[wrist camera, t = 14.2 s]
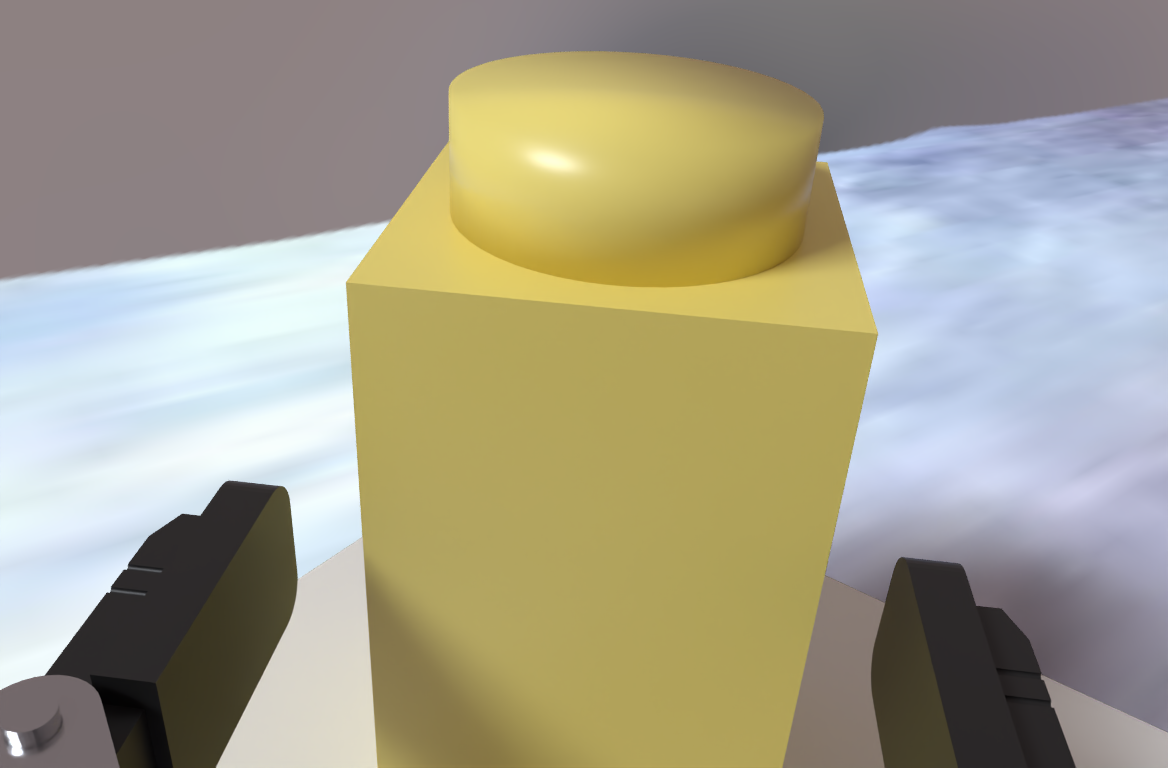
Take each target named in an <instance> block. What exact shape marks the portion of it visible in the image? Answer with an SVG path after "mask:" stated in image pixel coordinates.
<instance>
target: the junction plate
mask: <svg viewBox="0 0 1168 768" xmlns="http://www.w3.org/2000/svg"><path fill="white" fill-rule="evenodd" d="M884 605H885V603H884V602H882V601H880V600H878V599H876V598H873V597H871V596H869V595H867V594H865V593H862V592H860V591H858V590H856V589H854V588H852V587H849V586H847V585H845V584H843V583H841V582H839V581H836V580H834V579H832V578H830V577H828V576H824V581H823V585H822V590H821V595H820V599H819V604H818V608H817V613H816V617H815V622H814V626H813V631H812V635H811V640H810V644H809V649H808V653H807V658H806V662H805V667H804V672H803V676H802V681H801V685H800V690H799V694H798V699H797V703H796V708H795V712H794V717H793V721H792V726H791V730H790V735H789V740H788V744H787V749H786V753H785V758H784V762H783V767H782V768H885V767H884V761H883V755H882V750H881V744H880V738H879V732H878V727H877V721H876V715H875V709H874V704H873V698H872V690H871V663H872V654H873V648H874V643H875V639H876V636H877V632H878V628H879V624H880V620H881V617H882V613H883V609H884ZM1041 680H1044V682H1045V684H1046V687H1047V690H1048V693H1049V695H1050V698H1051V707H1052V708H1054V709H1055V712H1056V714H1057V717H1058V720H1059V722H1060V725H1061V728H1062V731H1063V733H1064V736H1065V739H1066V741H1067V744H1068V747H1069V750H1070V752H1071V755H1072V758H1073V761H1074V763H1075V766H1076V768H1168V732H1165V731H1163V730H1161V729H1159V728H1157V727H1155V726H1152V725H1150V724H1148V723H1146V722H1144V721H1141V720H1139V719H1137V718H1135V717H1133V716H1131V715H1128V714H1126V713H1124V712H1122V711H1120V710H1118V709H1115V708H1113V707H1111V706H1109V705H1107V704H1104V703H1102V702H1100V701H1098V700H1096V699H1094V698H1091V697H1089V696H1087V695H1085V694H1083V693H1080V692H1078V691H1076V690H1074V689H1072V688H1070V687H1067V686H1065V685H1063V684H1061V683H1059V682H1056V681H1054V680H1052V679H1050V678H1048V677H1046V676H1043V675H1041ZM216 768H377V753H376V737H375V722H374V706H373V691H372V676H371V660H370V645H369V629H368V614H367V598H366V583H365V568H364V552H363V537H362V538H360V539H358V540H357V541H355V542H354V543H352V544H351V545H349V546H348V547H346V548H345V549H343V550H342V551H340V552H339V553H337V554H336V555H334V556H333V557H331V558H330V559H328V560H327V561H325V562H324V563H322V564H320V565H319V566H317V567H316V568H314V569H313V570H311V571H310V572H308V573H307V574H305V575H304V576H302V577H301V578H299V579H298V581H297V594H296V600H295V605H294V609H293V612H292V616H291V618H290V621H289V623H288V625H287V627H286V629H285V631H284V633H283V635H282V637H281V639H280V641H279V643H278V645H277V647H276V649H275V651H274V653H273V655H272V657H271V659H270V661H269V663H268V665H267V667H266V669H265V671H264V673H263V675H262V677H261V679H260V681H259V683H258V685H257V687H256V689H255V691H254V693H253V695H252V697H251V699H250V701H249V703H248V705H247V707H246V709H245V711H244V713H243V715H242V717H241V719H240V721H239V723H238V725H237V727H236V729H235V731H234V732H233V734H232V736H231V738H230V740H229V742H228V744H227V746H226V748H225V750H224V752H223V754H222V756H221V758H220V760H219V762H218V764H217V766H216Z"/></svg>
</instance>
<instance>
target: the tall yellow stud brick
mask: <svg viewBox="0 0 1168 768" xmlns="http://www.w3.org/2000/svg"><path fill="white" fill-rule="evenodd" d="M823 114H824V113H823V110H822V108H821V106H820V104H819V103H818V102H817V101H816V100H815V99H813V98H812V97H811V96H809V95H808V94H807V93H805V92H804V91H802V90H800V89H798V88H796V87H794V86H792V85H790V84H787V83H785V82H782V81H780V80H778V79H775V78H772V77H769V76H766V75H763V74H760V73H756V72H753V71H749V70H746V69H741V68H737V67H732V66H728V65H724V64H718V63H714V62H708V61H702V60H696V59H690V58H682V57H674V56H667V55H656V54H646V53H630V52H606V51H578V52H554V53H542V54H532V55H524V56H517V57H511V58H506V59H501V60H496V61H492V62H488V63H485V64H481V65H479V66H476V67H474V68H471V69H468V70H467V71H465V72H463V73H461V74H460V75H458V76H457V77H456V78H455V79H454V80H453V81H452V83H451V84H450V86H449V142H448V143H447V145H446V146H445V147H444V149H443V150H442V151H441V153H440V154H439V156H438V157H437V158H436V160H435V161H434V162H433V164H432V165H431V166H430V168H429V169H428V171H427V172H426V173H425V175H424V176H423V178H422V179H421V180H420V182H419V183H418V184H417V186H416V187H415V188H414V190H413V191H412V193H411V194H410V195H409V197H408V198H407V199H406V201H405V202H404V204H403V205H402V206H401V208H400V209H399V211H398V212H397V213H396V215H395V216H394V217H393V219H392V220H391V221H390V223H389V224H388V225H387V227H386V228H385V230H384V231H383V232H382V234H381V235H380V236H379V238H378V239H377V241H376V242H375V243H374V245H373V246H372V247H371V249H370V250H369V252H368V253H367V254H366V256H365V257H364V258H363V260H362V261H361V263H360V264H359V265H358V267H357V268H356V269H355V271H354V272H353V274H352V275H351V276H350V278H349V279H348V280H347V282H346V290H347V305H348V321H349V336H350V352H351V367H352V382H353V398H354V413H355V429H356V444H357V460H358V475H359V490H360V506H361V521H362V537H363V552H364V568H365V583H366V598H367V614H368V629H369V645H370V660H371V676H372V691H373V706H374V722H375V737H376V753H377V768H782V767H783V762H784V758H785V753H786V749H787V744H788V740H789V735H790V730H791V726H792V721H793V717H794V712H795V708H796V703H797V699H798V694H799V690H800V685H801V681H802V676H803V672H804V667H805V662H806V658H807V653H808V649H809V644H810V640H811V635H812V631H813V626H814V622H815V617H816V613H817V608H818V604H819V599H820V595H821V590H822V585H823V581H824V576H825V572H826V567H827V563H828V558H829V554H830V549H831V545H832V540H833V536H834V531H835V527H836V522H837V517H838V513H839V508H840V504H841V499H842V495H843V490H844V486H845V481H846V477H847V472H848V468H849V463H850V459H851V454H852V449H853V445H854V440H855V436H856V431H857V427H858V422H859V418H860V413H861V409H862V404H863V400H864V395H865V391H866V386H867V382H868V377H869V372H870V368H871V363H872V359H873V354H874V350H875V345H876V341H877V336H878V332H877V329H876V325H875V322H874V319H873V315H872V312H871V308H870V305H869V302H868V298H867V295H866V292H865V288H864V285H863V281H862V278H861V275H860V271H859V268H858V265H857V261H856V258H855V254H854V251H853V248H852V244H851V241H850V238H849V234H848V231H847V228H846V224H845V221H844V217H843V214H842V211H841V207H840V204H839V201H838V197H837V194H836V190H835V187H834V184H833V180H832V177H831V174H830V170H829V167H828V163H827V162H816V161H817V155H818V149H819V143H820V137H821V132H822V125H823V120H824V115H823Z"/></svg>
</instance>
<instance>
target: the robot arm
mask: <svg viewBox="0 0 1168 768" xmlns="http://www.w3.org/2000/svg"><path fill="white" fill-rule="evenodd" d="M297 581H298V577H297V566H296V556H295V546H294V537H293V527H292V517H291V508H290V499H289V495H288V492H287V490H286V489H285V487H283V486H274V485H265V484H256V483H247V482H238V481H227V482H225V483H224V484H223V485H222V486H221V487H220V489H219V490H218V491H217V493H216V494H215V496H214V497H213V499H212V500H211V501H210V503H209V504H208V506H207V507H206V509H205V510H204V511H203V513H202V514H201V516H198V515H189V514H181V515H180V516H178V517H177V518H175V519H174V520H172V521H171V522H169V523H168V524H166V525H165V526H163V527H162V528H160V529H159V530H157V531H156V532H155V533H153V534H152V535H150V536H149V537H148V538H147V539H146V541H145V542H144V543H143V545H142V546H141V547H140V549H139V550H138V552H137V553H136V554H135V556H134V557H133V558H132V560H131V561H130V562H129V564H128V569H127V570H123V572H122V573H121V574H120V576H119V577H118V578H117V580H116V581H115V582H114V584H113V585H112V586H111V592H110V593H106V594H105V596H104V597H103V598H102V600H101V601H100V602H99V604H98V605H97V606H96V608H95V609H94V610H93V612H92V613H91V614H90V616H89V617H88V618H87V620H86V621H85V622H84V624H83V625H82V626H81V628H80V629H79V630H78V632H77V633H76V634H75V636H74V637H73V638H72V640H71V641H70V642H69V644H68V645H67V646H66V648H65V649H64V650H63V652H62V653H61V655H60V656H59V657H58V659H57V660H56V661H55V663H54V664H53V665H52V667H51V668H50V669H49V671H48V672H47V673H46V675H45V676H40V677H34V678H30V679H26V680H23V681H20V682H18V683H15V684H12V685H10V686H8V687H6V688H4V689H2V690H0V768H216V766H217V764H218V762H219V760H220V758H221V756H222V754H223V752H224V750H225V748H226V746H227V744H228V742H229V740H230V738H231V736H232V734H233V732H234V731H235V729H236V727H237V725H238V723H239V721H240V719H241V717H242V715H243V713H244V711H245V709H246V707H247V705H248V703H249V701H250V699H251V697H252V695H253V693H254V691H255V689H256V687H257V685H258V683H259V681H260V679H261V677H262V675H263V673H264V671H265V669H266V667H267V665H268V663H269V661H270V659H271V657H272V655H273V653H274V651H275V649H276V647H277V645H278V643H279V641H280V639H281V637H282V635H283V633H284V631H285V629H286V627H287V625H288V623H289V621H290V618H291V616H292V612H293V609H294V605H295V600H296V594H297ZM871 690H872V698H873V704H874V709H875V715H876V721H877V727H878V732H879V738H880V744H881V750H882V755H883V761H884V767H885V768H1076V766H1075V763H1074V761H1073V758H1072V755H1071V752H1070V750H1069V747H1068V744H1067V741H1066V739H1065V736H1064V733H1063V731H1062V728H1061V725H1060V722H1059V720H1058V717H1057V714H1056V712H1055V709H1054V708H1052V707H1051V698H1050V695H1049V693H1048V690H1047V687H1046V684H1045V682H1044V680H1041V671H1040V668H1039V665H1038V663H1037V660H1036V657H1035V655H1034V652H1033V649H1032V646H1031V644H1030V641H1029V639H1028V638H1027V637H1026V636H1025V635H1024V634H1023V632H1022V631H1021V630H1020V629H1019V628H1018V627H1017V626H1016V625H1015V623H1014V622H1013V621H1012V620H1011V619H1010V618H1009V617H1008V616H1007V614H1006V613H1005V612H1004V611H1003V610H1002V609H999V608H990V607H982V606H976V604H975V601H974V598H973V595H972V592H971V589H970V586H969V582H968V579H967V576H966V573H965V570H964V568H963V567H962V565H961V564H958V563H950V562H941V561H932V560H923V559H914V558H905V557H901V558H899V559H898V561H897V563H896V565H895V568H894V571H893V575H892V579H891V583H890V586H889V590H888V594H887V598H886V601H885V605H884V609H883V613H882V617H881V620H880V624H879V628H878V632H877V636H876V639H875V643H874V648H873V654H872V663H871Z"/></svg>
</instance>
